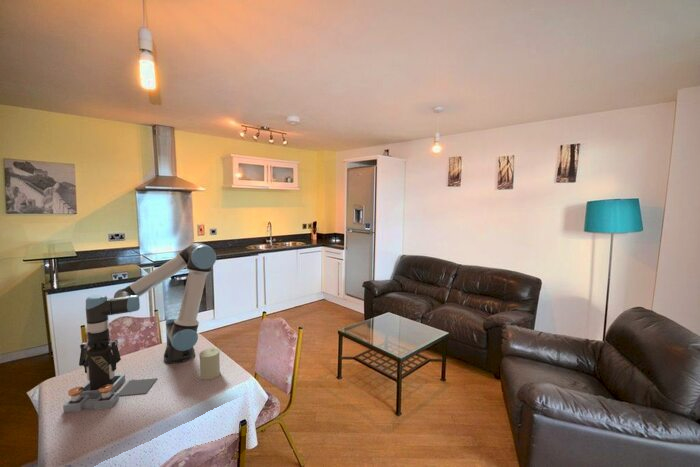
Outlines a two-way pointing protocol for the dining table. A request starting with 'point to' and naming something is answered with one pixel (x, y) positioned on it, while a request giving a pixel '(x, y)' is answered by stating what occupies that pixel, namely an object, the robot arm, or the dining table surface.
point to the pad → (137, 387)
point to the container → (99, 368)
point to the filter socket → (95, 393)
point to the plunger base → (90, 403)
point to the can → (209, 364)
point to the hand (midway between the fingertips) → (101, 378)
